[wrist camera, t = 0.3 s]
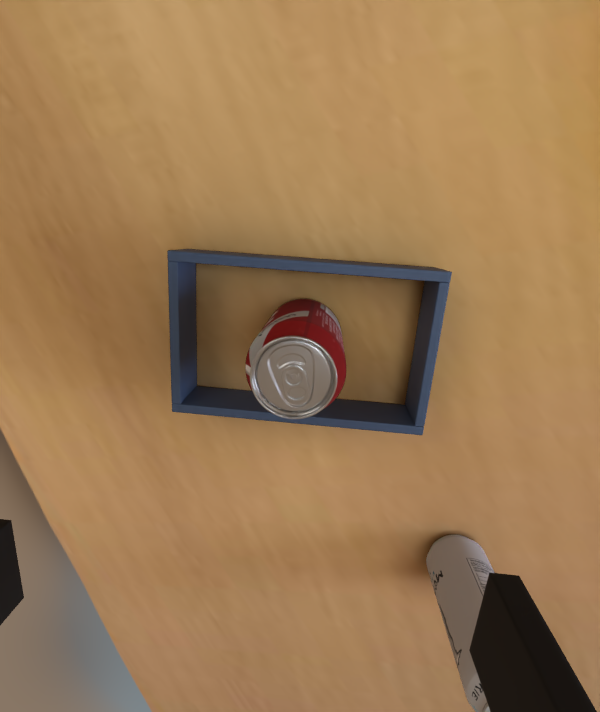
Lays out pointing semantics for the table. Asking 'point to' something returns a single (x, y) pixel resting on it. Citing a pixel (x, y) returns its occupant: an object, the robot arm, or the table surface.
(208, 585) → the table surface
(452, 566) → the energy drink can
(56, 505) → the table surface
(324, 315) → the soda can
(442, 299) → the open box
